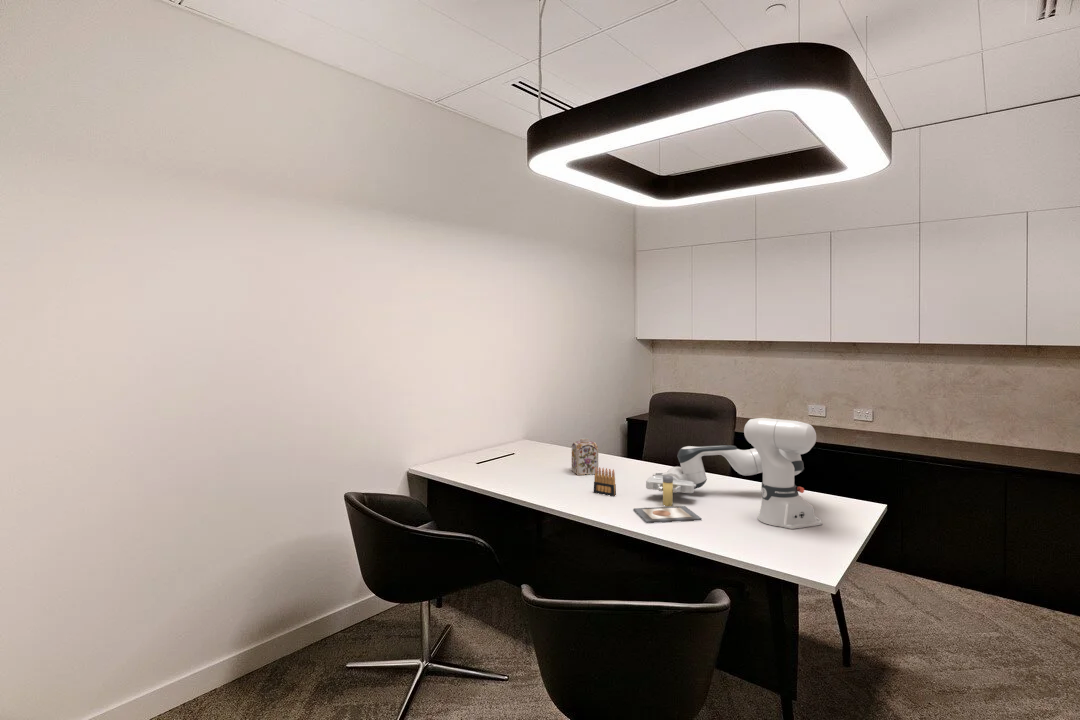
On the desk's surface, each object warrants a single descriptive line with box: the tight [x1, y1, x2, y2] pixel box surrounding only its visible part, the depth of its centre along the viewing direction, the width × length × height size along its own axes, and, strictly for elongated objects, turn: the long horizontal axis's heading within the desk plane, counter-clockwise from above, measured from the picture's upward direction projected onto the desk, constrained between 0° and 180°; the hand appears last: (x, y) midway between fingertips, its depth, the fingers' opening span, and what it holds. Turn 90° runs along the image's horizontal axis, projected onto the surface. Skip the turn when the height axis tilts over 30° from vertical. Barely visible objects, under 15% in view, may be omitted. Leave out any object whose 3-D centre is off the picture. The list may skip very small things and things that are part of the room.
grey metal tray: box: [632, 505, 702, 524], centre depth 218 cm, size 22×16×1 cm
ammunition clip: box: [593, 466, 617, 497], centre depth 248 cm, size 11×2×12 cm, turn 53°
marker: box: [662, 475, 674, 507], centre depth 231 cm, size 4×4×12 cm
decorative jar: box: [571, 437, 599, 476], centre depth 288 cm, size 12×12×18 cm
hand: (667, 490), depth 230 cm, fingers open, 5 cm apart
